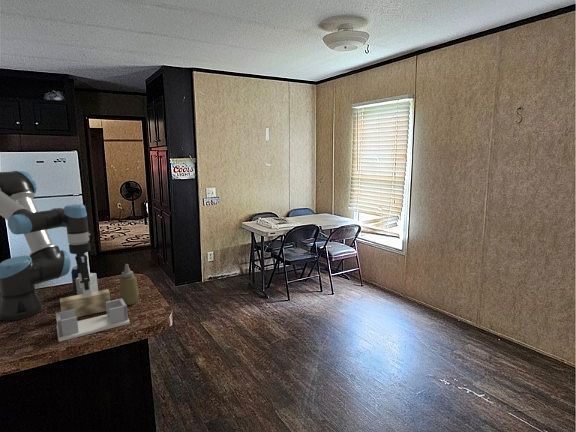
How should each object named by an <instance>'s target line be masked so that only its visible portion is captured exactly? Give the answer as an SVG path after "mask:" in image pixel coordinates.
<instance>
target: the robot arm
mask: <svg viewBox="0 0 576 432" xmlns="http://www.w3.org/2000/svg"><path fill="white" fill-rule="evenodd" d="M37 189H38V188H37V183H36V181H35V178H34V177H33V176H32V175H31V174H30V173H29V172H27V171H24V170H22V171H20V170H12V171H0V216H1V217H2V218H3V219H5V220H7V227H8V230H9V231H10V233H12V234H13V235H23V236H24V238H25V240H26V242H27V245H28V247H29V249H30V251H31V252H30V254H28V255H20V256H14V257H11V258H8V259H5V260H3V261H1V262H0V297H1V300H0V320H1V321H9V322H10V321H17V320H18V321H19V320H22V319H26V318H29V317H32V316H35V315H37V314H39V313H40V312H42V311H43V309H44V306H43V302H42V300H40V298H39V295H38V293H37V292H36V285H39V284H42V283H46V282H49V281H53V280H55V279H60V278H62V277H65V276H67V275H68V274H69V272H70V270H71V266H72V265H71V264H72V263H71V258H70V257H71V256H70V255H69V253H70V254H71V255H75V256H74V257H75V258H74V259H75V263H76V266H77V270H78V277H79V285H80V288H82V289H83V297H84V298H87V297H91V289H90V278H89V273H90V272H89V268H88V267H89V263H88V256H87V255H86V254H85V253H88V252H90V251H91V250H92V249H91V248H92V247H91V242H90V236H91V232H90V231H89V221H88V213H87V209H86V205H84V204H81V203H80V204H68V205H65V206H64V208H62V207H56V208H55V207H54V208H50V209H49V210H42V211H39V210H38V208H37V206H36V204H35V201H34V198H35V194H36V193H37ZM56 228H58V229H59V228H66V235H67V236H66V237H67V242H68V250H69V253H68V252H67V251H66V250H64V249H62V250H61V249H60V247H59V246H58V245H56V244H54V243H53V241H52V238H51V237H50V234H49V232H48V230H52V229H56ZM89 232H90V233H89ZM86 278H87V279H86Z"/></svg>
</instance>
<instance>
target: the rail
mask: <svg viewBox="0 0 576 432" xmlns="http://www.w3.org/2000/svg"><path fill="white" fill-rule="evenodd" d="M108 301H111V293H110V290H109V289H102V290H98V291H96V292H91V297H87V298H84V297H83V294H80V295H77V294H76V295H70V296H65V297H60V298H59V304H60V310H61V311H60V312H62V311H67V310H71V309H75V316H77V318H80V317H84V316H88V315H93V314H97V313H103V312H107V310H106V302H108Z"/></svg>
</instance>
